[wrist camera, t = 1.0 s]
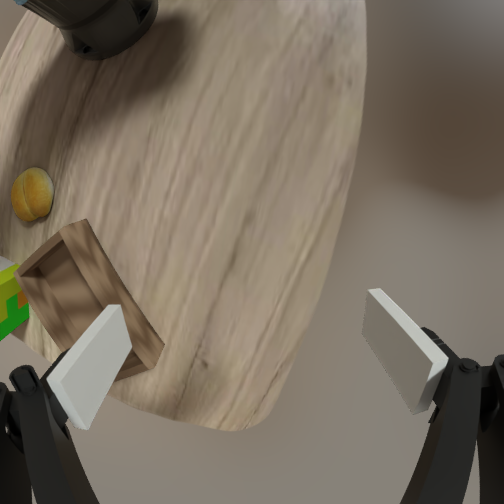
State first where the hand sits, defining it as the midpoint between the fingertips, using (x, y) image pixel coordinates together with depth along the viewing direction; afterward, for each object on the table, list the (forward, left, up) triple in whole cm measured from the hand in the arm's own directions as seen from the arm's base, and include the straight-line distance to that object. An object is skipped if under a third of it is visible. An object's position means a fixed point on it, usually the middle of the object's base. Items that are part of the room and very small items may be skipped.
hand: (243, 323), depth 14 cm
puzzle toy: (-12, -43, -24) cm, 51 cm away
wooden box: (-1, -26, -24) cm, 36 cm away
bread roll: (-21, -26, -24) cm, 42 cm away
